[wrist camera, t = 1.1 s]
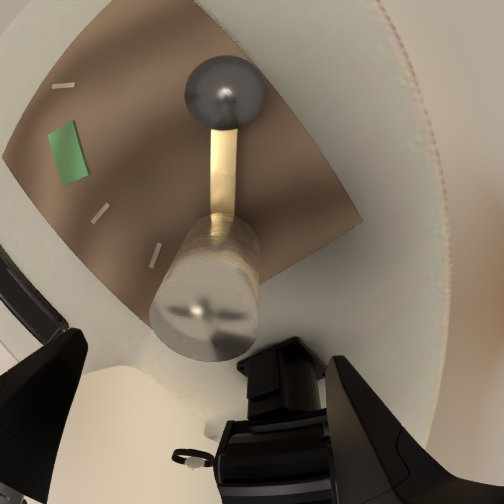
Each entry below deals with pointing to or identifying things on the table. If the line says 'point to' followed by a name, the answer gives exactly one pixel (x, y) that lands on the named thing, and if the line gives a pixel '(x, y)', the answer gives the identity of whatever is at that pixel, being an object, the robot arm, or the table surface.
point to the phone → (28, 303)
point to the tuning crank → (215, 229)
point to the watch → (193, 458)
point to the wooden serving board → (162, 153)
